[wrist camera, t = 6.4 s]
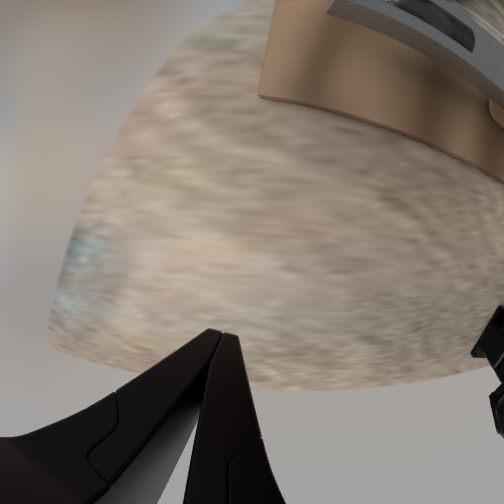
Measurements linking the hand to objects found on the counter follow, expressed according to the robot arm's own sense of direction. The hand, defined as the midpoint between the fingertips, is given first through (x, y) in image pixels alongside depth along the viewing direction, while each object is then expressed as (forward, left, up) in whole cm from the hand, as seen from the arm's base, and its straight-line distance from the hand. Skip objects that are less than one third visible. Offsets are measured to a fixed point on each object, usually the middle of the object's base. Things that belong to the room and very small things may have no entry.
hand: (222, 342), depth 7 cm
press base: (-10, -13, -13) cm, 21 cm away
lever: (-10, -13, -7) cm, 18 cm away
